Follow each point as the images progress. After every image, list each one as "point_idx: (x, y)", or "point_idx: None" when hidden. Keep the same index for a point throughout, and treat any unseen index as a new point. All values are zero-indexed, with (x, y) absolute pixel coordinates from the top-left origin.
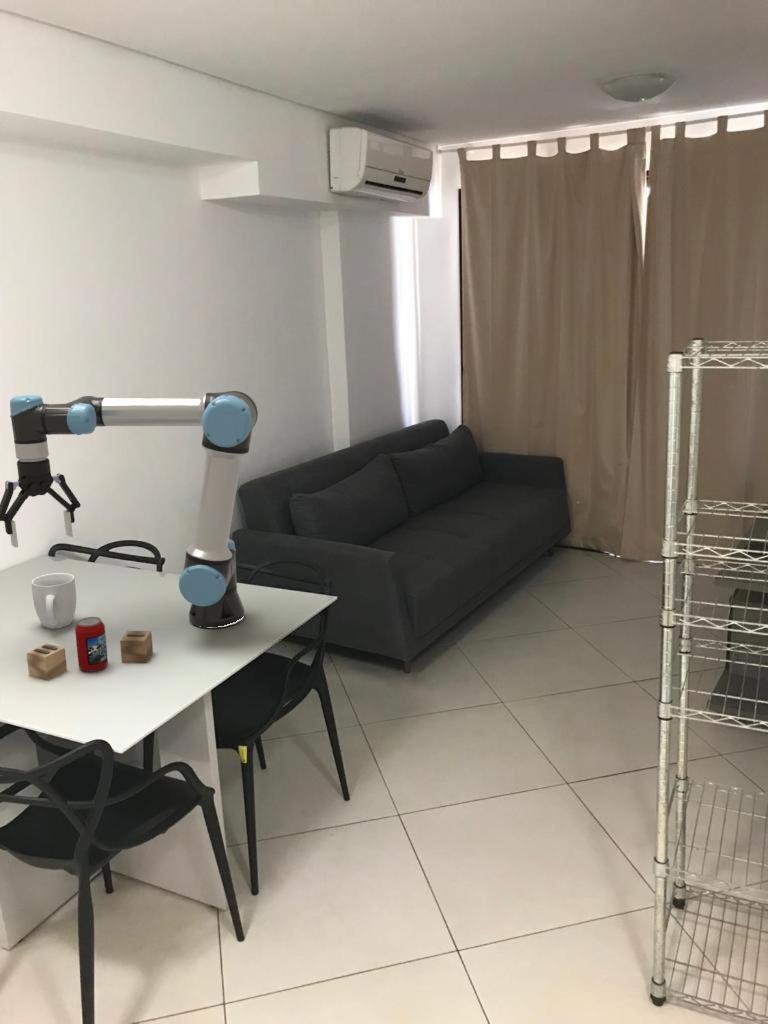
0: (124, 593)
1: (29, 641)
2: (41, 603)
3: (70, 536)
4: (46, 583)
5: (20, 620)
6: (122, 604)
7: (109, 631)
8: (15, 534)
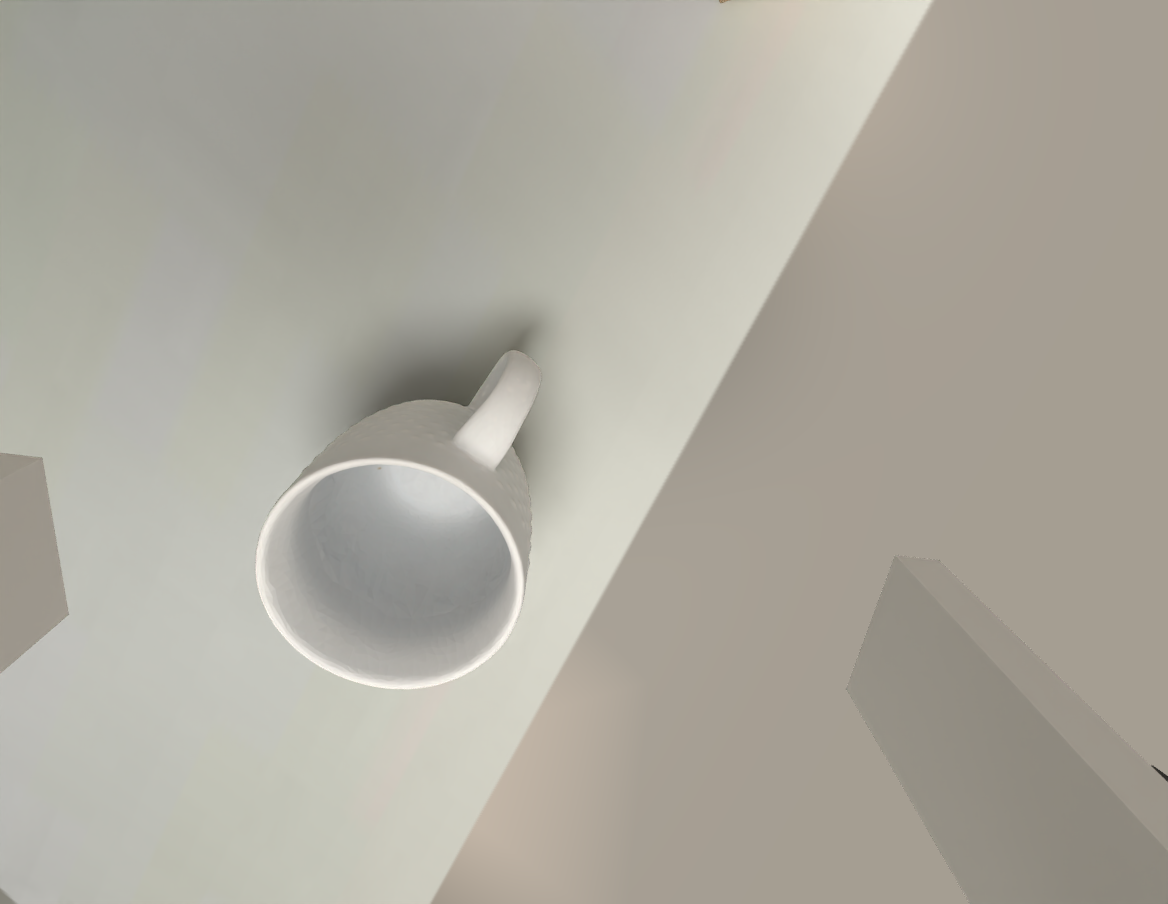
0: None
1: (628, 372)
2: (519, 481)
3: (24, 457)
4: (407, 642)
5: (542, 610)
6: (100, 468)
7: (289, 188)
8: (1057, 705)
